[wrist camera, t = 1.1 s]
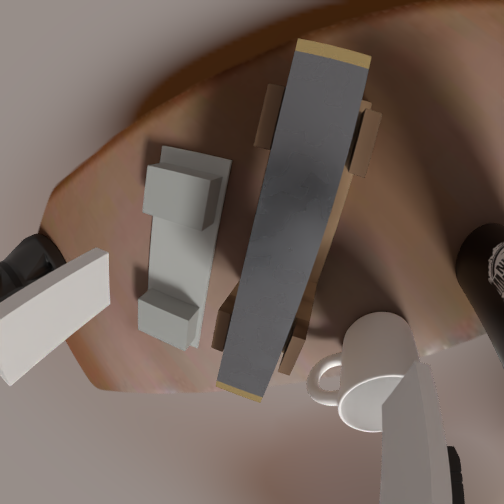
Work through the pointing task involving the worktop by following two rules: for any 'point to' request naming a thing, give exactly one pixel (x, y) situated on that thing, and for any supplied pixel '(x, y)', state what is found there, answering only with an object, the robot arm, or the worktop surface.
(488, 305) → the water bottle
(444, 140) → the worktop surface
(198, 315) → the rest
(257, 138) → the rack
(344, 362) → the mug
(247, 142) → the worktop surface
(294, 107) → the rail
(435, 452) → the robot arm
